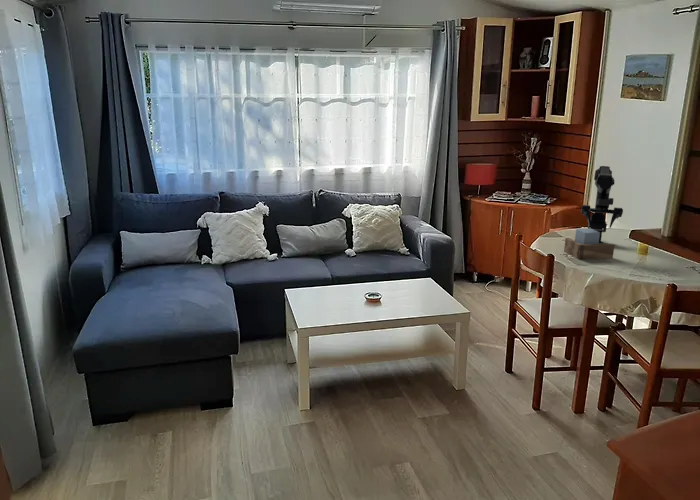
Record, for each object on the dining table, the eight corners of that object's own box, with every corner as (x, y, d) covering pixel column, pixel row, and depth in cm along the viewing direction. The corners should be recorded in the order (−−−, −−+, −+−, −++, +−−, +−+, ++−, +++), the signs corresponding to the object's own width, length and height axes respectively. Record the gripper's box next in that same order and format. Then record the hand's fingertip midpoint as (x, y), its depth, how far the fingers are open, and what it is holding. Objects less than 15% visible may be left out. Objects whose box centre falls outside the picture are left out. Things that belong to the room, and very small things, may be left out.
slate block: (573, 251, 286) (576, 229, 282) (587, 251, 287) (590, 228, 284) (581, 256, 278) (585, 233, 275) (596, 255, 280) (600, 232, 276)
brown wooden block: (563, 251, 286) (565, 238, 284) (596, 250, 289) (598, 237, 287) (578, 259, 273) (580, 245, 271) (612, 258, 276) (614, 244, 274)
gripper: (584, 189, 276) (580, 219, 272) (625, 192, 269) (623, 222, 265) (582, 199, 286) (579, 227, 282) (622, 201, 279) (619, 231, 275)
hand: (599, 227), depth 276 cm, fingers open, 9 cm apart
